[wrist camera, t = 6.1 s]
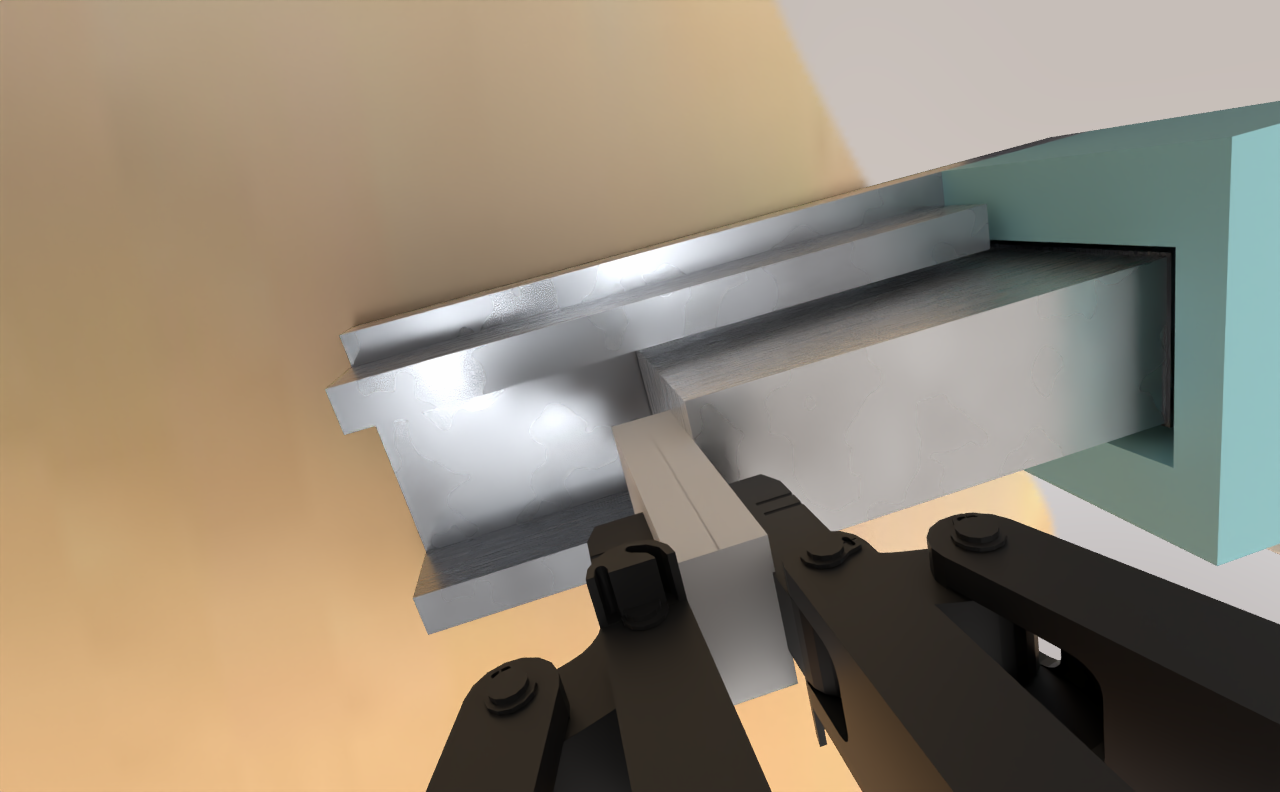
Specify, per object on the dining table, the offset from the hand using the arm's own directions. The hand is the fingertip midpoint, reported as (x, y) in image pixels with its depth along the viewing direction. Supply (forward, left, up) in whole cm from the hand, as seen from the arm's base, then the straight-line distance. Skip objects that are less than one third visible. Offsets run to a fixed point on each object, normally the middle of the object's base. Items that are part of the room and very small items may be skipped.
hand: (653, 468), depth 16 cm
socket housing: (0, +13, -4) cm, 14 cm away
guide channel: (0, +4, -5) cm, 7 cm away
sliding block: (0, +7, -4) cm, 8 cm away
